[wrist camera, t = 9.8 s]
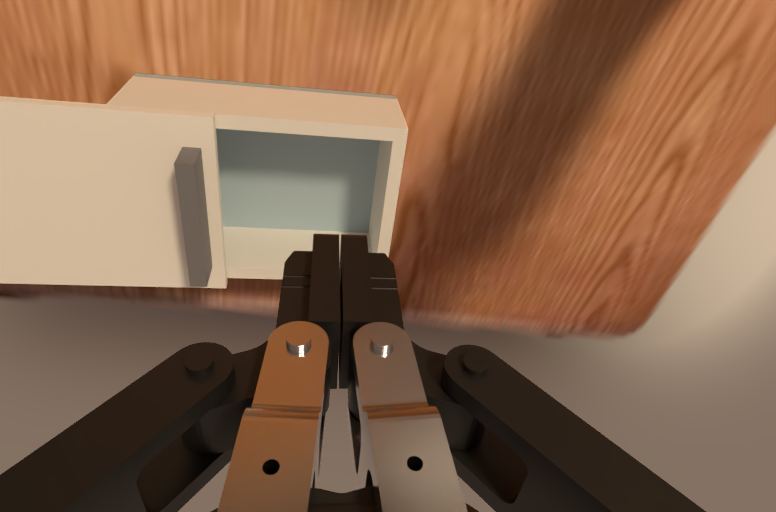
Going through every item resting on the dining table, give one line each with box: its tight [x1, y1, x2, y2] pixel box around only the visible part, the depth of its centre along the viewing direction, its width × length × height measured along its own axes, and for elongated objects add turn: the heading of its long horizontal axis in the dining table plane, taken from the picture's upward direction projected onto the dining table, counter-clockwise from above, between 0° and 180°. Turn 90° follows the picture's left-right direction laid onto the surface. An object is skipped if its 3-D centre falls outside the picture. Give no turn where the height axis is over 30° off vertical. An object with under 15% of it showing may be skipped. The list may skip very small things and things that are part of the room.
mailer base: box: [106, 73, 408, 279], centre depth 41 cm, size 20×14×7 cm
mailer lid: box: [0, 96, 227, 288], centre depth 35 cm, size 20×14×3 cm
